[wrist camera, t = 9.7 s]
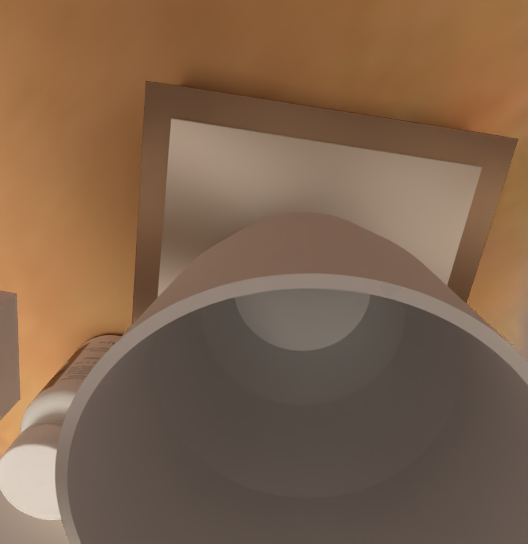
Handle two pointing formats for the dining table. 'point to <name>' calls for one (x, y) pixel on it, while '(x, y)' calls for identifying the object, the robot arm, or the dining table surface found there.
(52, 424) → the pill bottle
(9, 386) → the robot arm
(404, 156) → the pedestal
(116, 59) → the dining table surface
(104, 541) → the cup
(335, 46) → the dining table surface
